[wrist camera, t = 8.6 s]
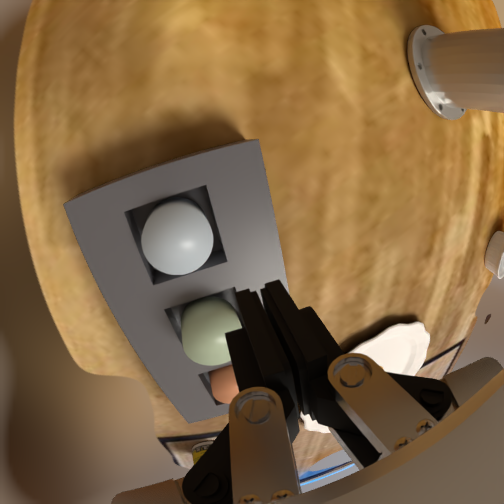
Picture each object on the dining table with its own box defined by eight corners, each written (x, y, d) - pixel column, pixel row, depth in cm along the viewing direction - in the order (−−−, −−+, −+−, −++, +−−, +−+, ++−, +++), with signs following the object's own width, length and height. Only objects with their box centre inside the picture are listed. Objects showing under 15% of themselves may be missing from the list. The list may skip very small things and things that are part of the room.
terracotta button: (246, 346, 27) (255, 367, 24) (256, 375, 29) (264, 394, 26) (201, 361, 26) (205, 382, 23) (215, 388, 28) (221, 408, 25)
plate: (413, 380, 46) (418, 385, 44) (307, 440, 43) (311, 447, 41) (431, 289, 35) (439, 294, 33) (282, 370, 32) (288, 381, 30)
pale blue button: (198, 188, 20) (202, 196, 17) (215, 247, 22) (221, 262, 19) (137, 209, 19) (131, 220, 16) (157, 265, 21) (156, 283, 18)
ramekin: (504, 227, 38) (519, 234, 34) (494, 266, 41) (508, 275, 37) (489, 228, 35) (507, 237, 32) (478, 273, 39) (493, 282, 35)
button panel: (245, 139, 20) (258, 139, 17) (293, 366, 32) (304, 386, 29) (78, 194, 18) (63, 204, 15) (185, 401, 30) (188, 423, 26)
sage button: (228, 288, 22) (236, 309, 19) (242, 332, 24) (251, 354, 21) (171, 306, 21) (173, 329, 19) (191, 348, 23) (195, 371, 21)
